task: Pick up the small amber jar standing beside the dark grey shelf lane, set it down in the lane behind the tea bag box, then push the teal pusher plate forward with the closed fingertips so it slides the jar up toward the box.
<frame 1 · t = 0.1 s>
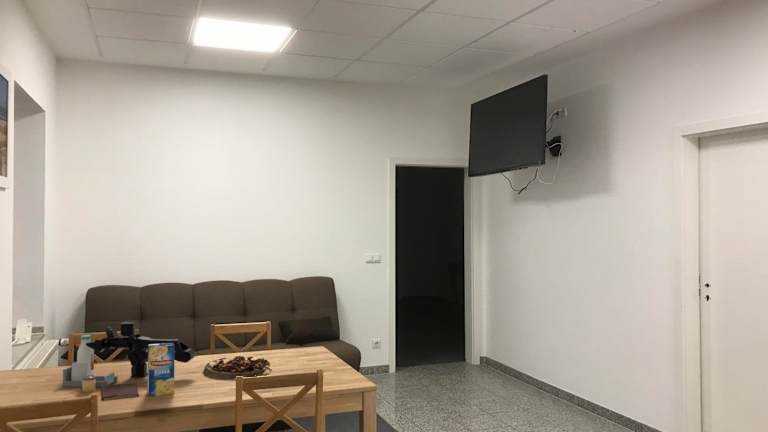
hand: (90, 342, 302), 17 cm above the table, tool horizontal, fingers open, 9 cm apart
blue yellow food box: (160, 393, 271), on the table
notebook: (119, 394, 272), on the table
tea bag: (79, 384, 286), resting in lane
jar: (88, 390, 275), on the table
food dish: (236, 372, 312), on the table
lane: (91, 383, 286), on the table
pusher: (109, 379, 285), point 2 cm above the table, slide at 0.0 cm
milk bottle: (85, 375, 302), on the table
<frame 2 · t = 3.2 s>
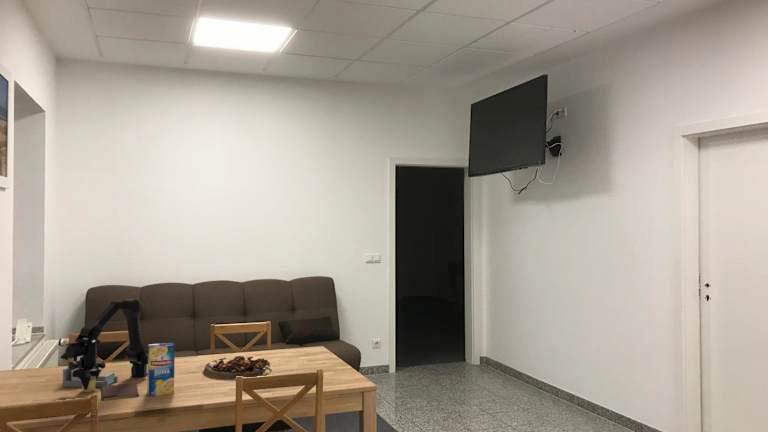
hand: (88, 387, 275), 1 cm above the table, tool pointing down, fingers closed on jar, 5 cm apart
jar: (88, 390, 275), on the table, touching gripper
everything else where it was.
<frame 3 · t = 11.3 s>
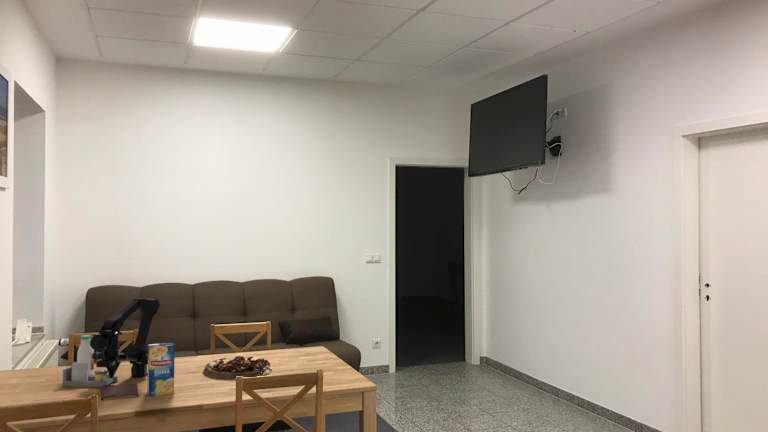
hand: (111, 377, 285), 3 cm above the table, tool pointing down, fingers closed, pressing on pusher
jar: (101, 384, 286), resting in lane
pusher: (108, 379, 285), point 2 cm above the table, slide at 0.4 cm, touching gripper
everything else where it was.
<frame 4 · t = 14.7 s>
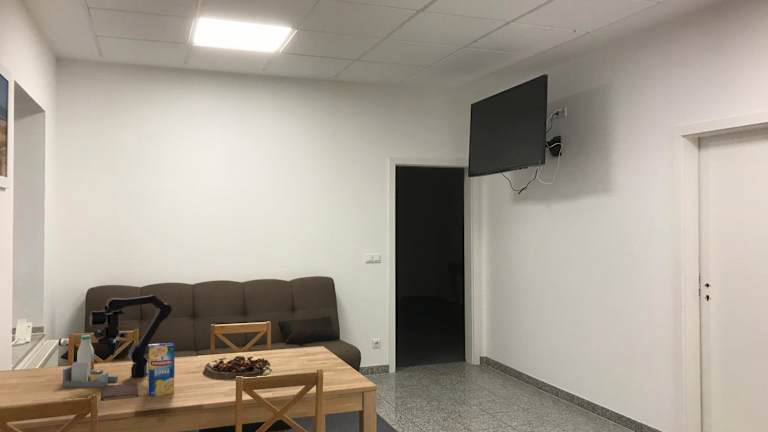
hand: (112, 355, 294), 12 cm above the table, tool pointing down, fingers closed
jar: (96, 384, 286), resting in lane
pusher: (103, 379, 286), point 2 cm above the table, slide at 3.0 cm
everything else where it was.
at the end: jar inside the target area on the lane (1.3 cm from its centre), point 0.0 cm above the lane's base; jar tilted 0°; pusher slide at 3.0 cm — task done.
